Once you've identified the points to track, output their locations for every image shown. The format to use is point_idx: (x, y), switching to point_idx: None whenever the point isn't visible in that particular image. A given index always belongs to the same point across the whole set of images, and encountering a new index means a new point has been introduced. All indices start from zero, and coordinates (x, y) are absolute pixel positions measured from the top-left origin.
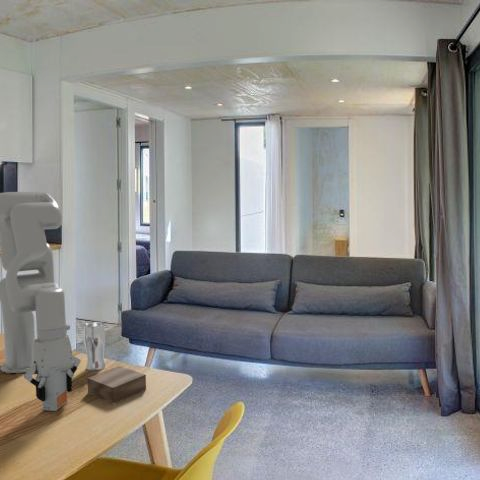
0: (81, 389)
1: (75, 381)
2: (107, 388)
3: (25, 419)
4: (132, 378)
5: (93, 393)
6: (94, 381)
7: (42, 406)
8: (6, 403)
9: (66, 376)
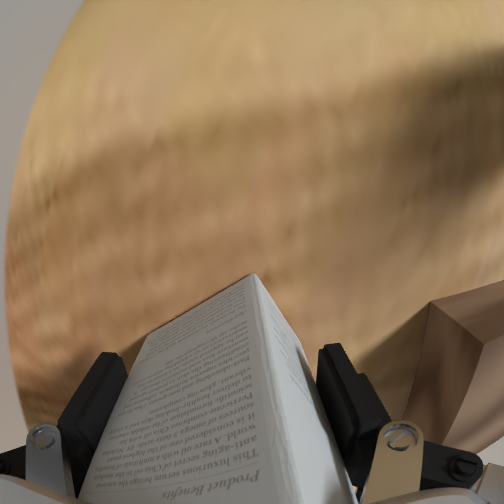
0: (443, 227)
1: (466, 97)
2: None
3: (67, 352)
4: (499, 435)
5: (428, 348)
6: (460, 400)
7: (142, 347)
8: (45, 90)
9: (354, 464)
